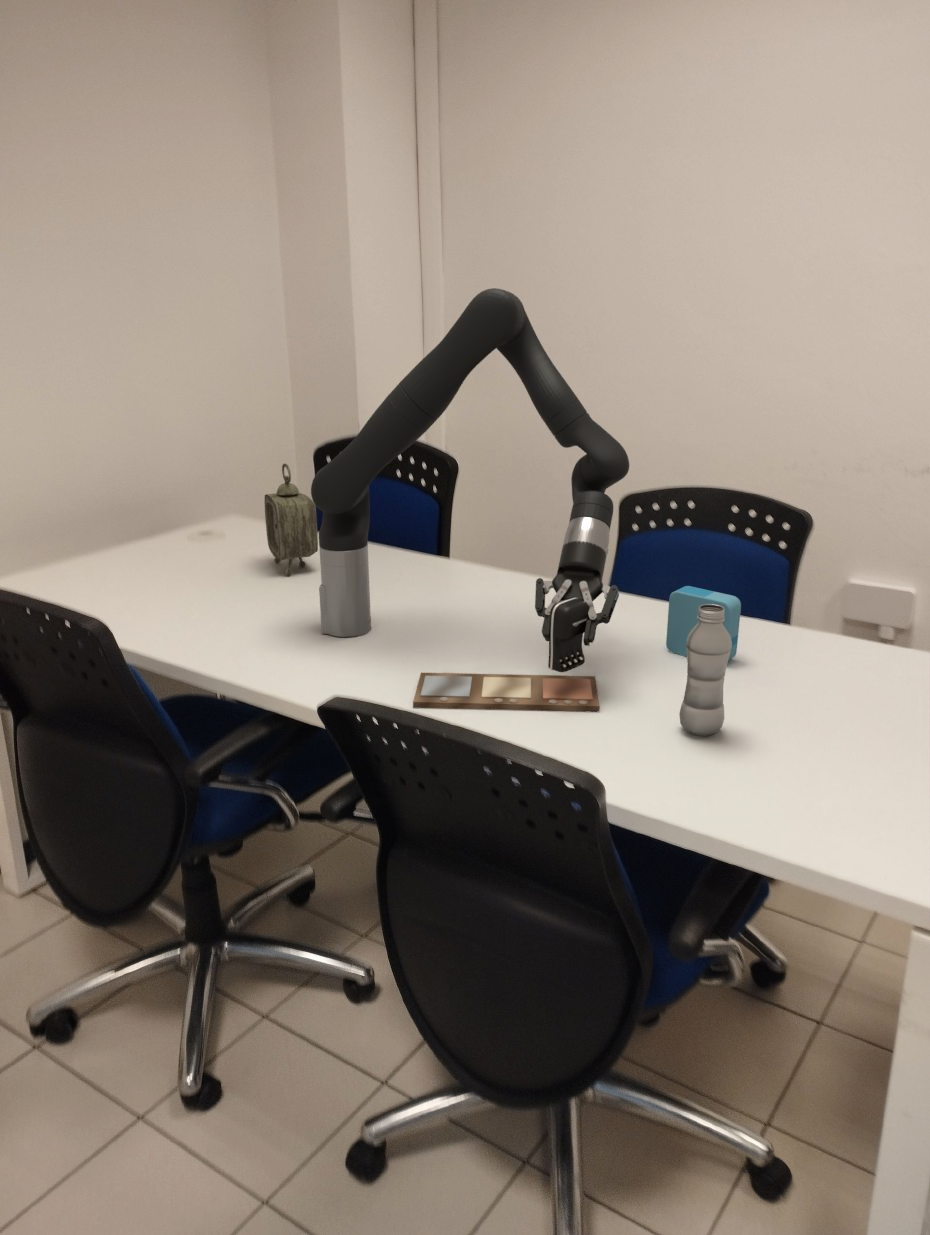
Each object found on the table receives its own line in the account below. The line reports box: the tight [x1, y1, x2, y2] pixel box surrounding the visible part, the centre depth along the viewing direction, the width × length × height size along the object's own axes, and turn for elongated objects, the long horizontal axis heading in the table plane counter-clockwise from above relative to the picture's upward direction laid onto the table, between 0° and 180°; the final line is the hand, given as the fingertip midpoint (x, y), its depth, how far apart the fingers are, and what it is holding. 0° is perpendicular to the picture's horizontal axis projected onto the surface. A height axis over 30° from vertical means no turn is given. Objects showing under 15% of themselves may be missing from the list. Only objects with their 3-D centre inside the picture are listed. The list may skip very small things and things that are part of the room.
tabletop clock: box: [264, 463, 319, 577], centre depth 224 cm, size 14×9×25 cm, turn 23°
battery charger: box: [547, 598, 590, 673], centre depth 156 cm, size 7×4×11 cm, turn 133°
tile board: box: [412, 672, 601, 713], centre depth 160 cm, size 30×12×1 cm, turn 86°
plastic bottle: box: [679, 604, 732, 736], centre depth 144 cm, size 6×7×20 cm
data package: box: [665, 585, 742, 661], centre depth 174 cm, size 12×4×12 cm, turn 49°
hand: (566, 641), depth 155 cm, fingers closed on battery charger, 5 cm apart
